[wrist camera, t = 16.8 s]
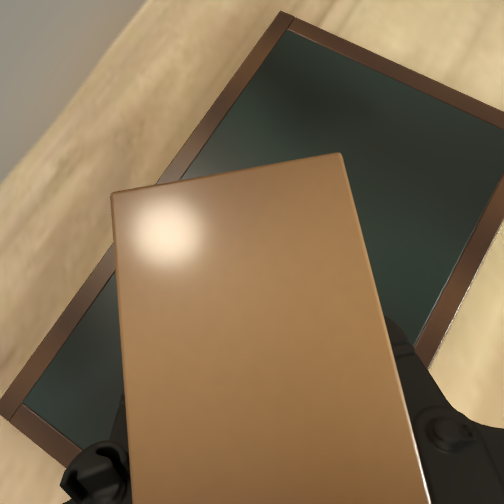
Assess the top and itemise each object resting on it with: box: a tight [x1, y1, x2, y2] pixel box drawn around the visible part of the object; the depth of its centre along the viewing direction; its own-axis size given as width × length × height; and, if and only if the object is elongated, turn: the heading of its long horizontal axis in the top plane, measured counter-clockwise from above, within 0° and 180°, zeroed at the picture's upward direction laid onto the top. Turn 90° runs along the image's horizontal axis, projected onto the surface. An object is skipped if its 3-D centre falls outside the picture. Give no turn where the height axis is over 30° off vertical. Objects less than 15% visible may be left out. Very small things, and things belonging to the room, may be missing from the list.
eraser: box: [110, 152, 432, 504], centre depth 10 cm, size 10×5×11 cm, turn 10°
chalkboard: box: [0, 11, 504, 468], centre depth 17 cm, size 26×16×1 cm, turn 148°
